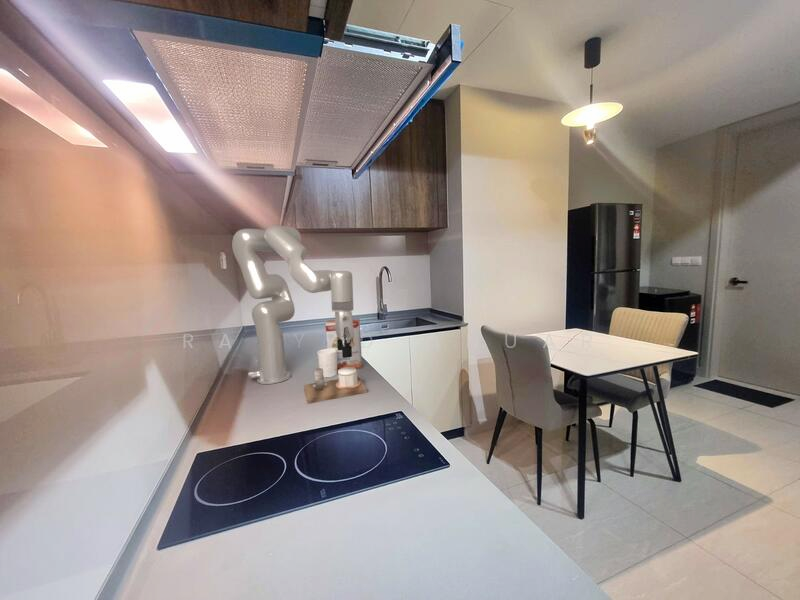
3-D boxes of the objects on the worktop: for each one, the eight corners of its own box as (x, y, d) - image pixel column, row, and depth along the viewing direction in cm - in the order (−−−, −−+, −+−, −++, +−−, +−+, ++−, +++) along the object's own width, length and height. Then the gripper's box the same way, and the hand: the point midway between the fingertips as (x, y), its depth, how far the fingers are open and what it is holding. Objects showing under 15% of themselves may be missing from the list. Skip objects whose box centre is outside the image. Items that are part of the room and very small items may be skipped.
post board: (307, 403, 104) (305, 378, 103) (304, 388, 117) (302, 366, 116) (366, 392, 111) (365, 368, 110) (357, 379, 124) (356, 358, 123)
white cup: (332, 379, 126) (330, 354, 125) (315, 377, 128) (313, 353, 127) (342, 372, 133) (340, 348, 132) (325, 371, 136) (324, 348, 135)
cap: (359, 384, 113) (358, 371, 113) (340, 388, 111) (339, 374, 111) (355, 378, 120) (354, 365, 119) (337, 381, 117) (336, 368, 117)
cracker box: (328, 370, 136) (324, 322, 134) (330, 366, 142) (327, 319, 140) (361, 368, 136) (358, 320, 134) (362, 364, 142) (359, 318, 140)
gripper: (358, 308, 105) (360, 359, 108) (348, 302, 122) (349, 346, 124) (335, 310, 103) (338, 361, 105) (328, 303, 119) (330, 348, 121)
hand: (344, 353), depth 114 cm, fingers open, 9 cm apart
